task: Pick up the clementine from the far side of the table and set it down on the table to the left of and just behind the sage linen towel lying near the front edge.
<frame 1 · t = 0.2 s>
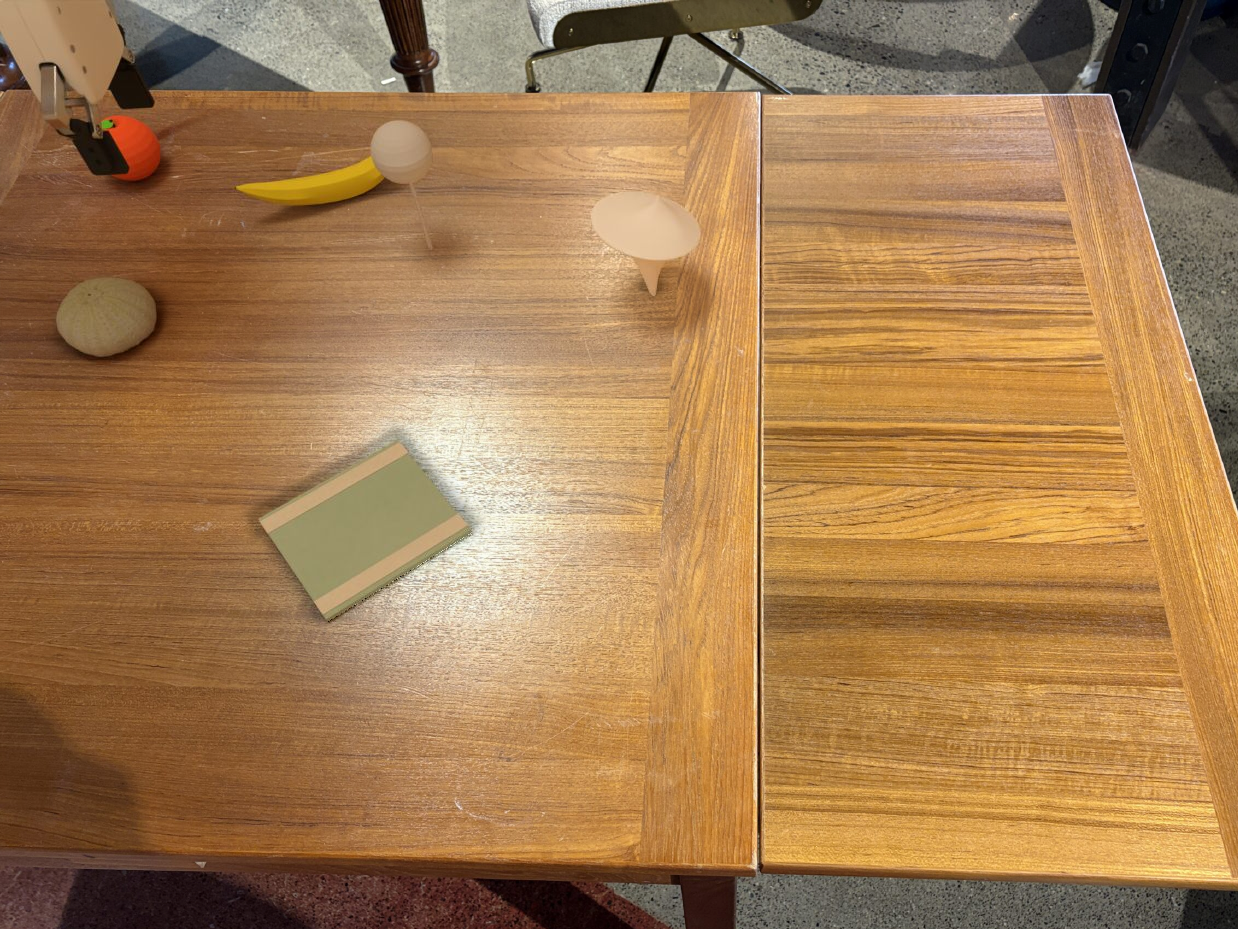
hand: (125, 139, 92), 17 cm above the table, tool pointing down, fingers open, 9 cm apart
lollipop: (431, 250, 109), on the table
banana: (337, 201, 114), on the table
clementine: (137, 177, 117), on the table
sea urchin shell: (118, 331, 103), on the table
mushroom: (651, 296, 105), on the table
towel: (365, 527, 89), on the table
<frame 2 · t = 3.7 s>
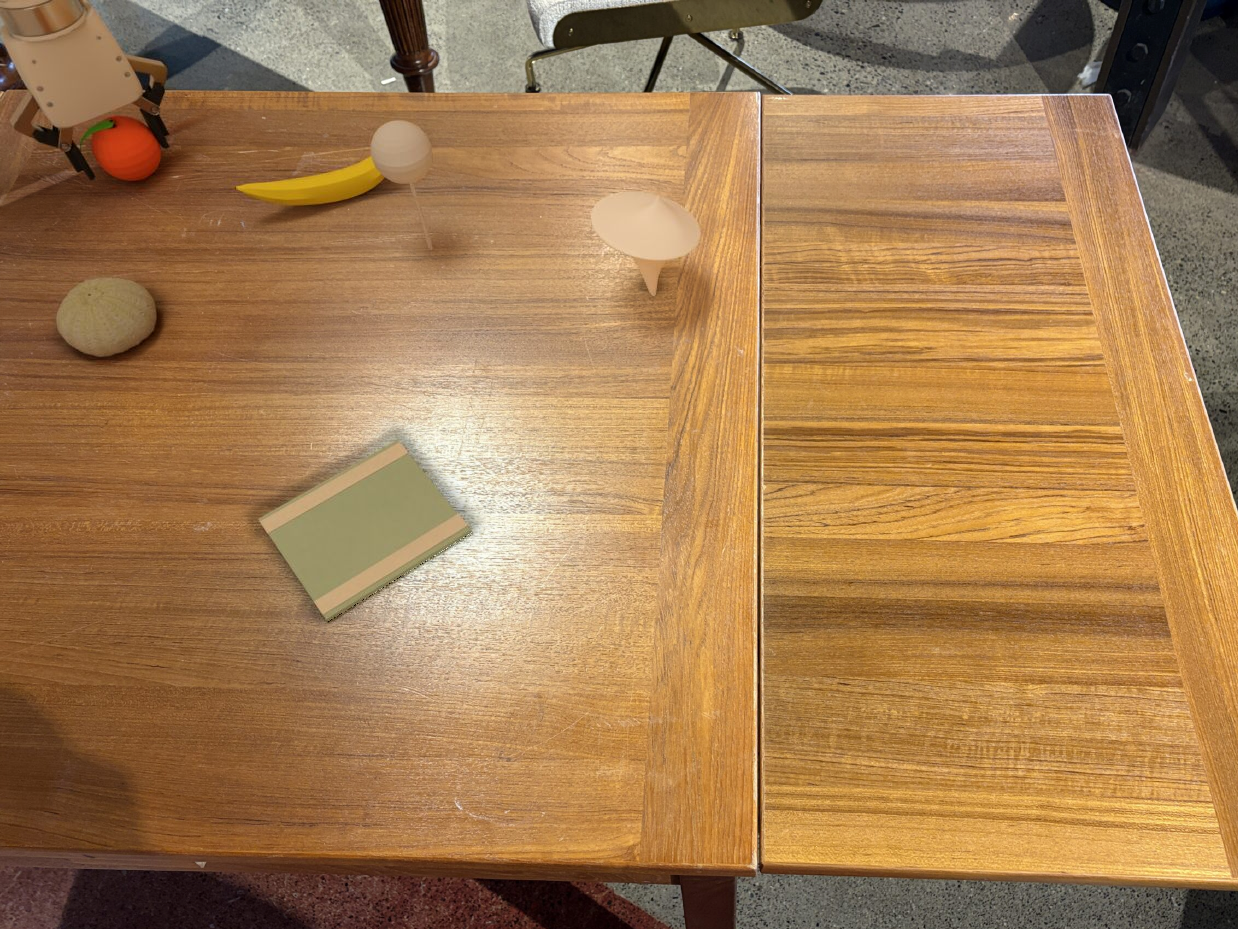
hand: (126, 157, 115), 2 cm above the table, tool pointing down, fingers closed on clementine, 8 cm apart
clementine: (137, 177, 117), on the table, touching gripper
everything else where it was.
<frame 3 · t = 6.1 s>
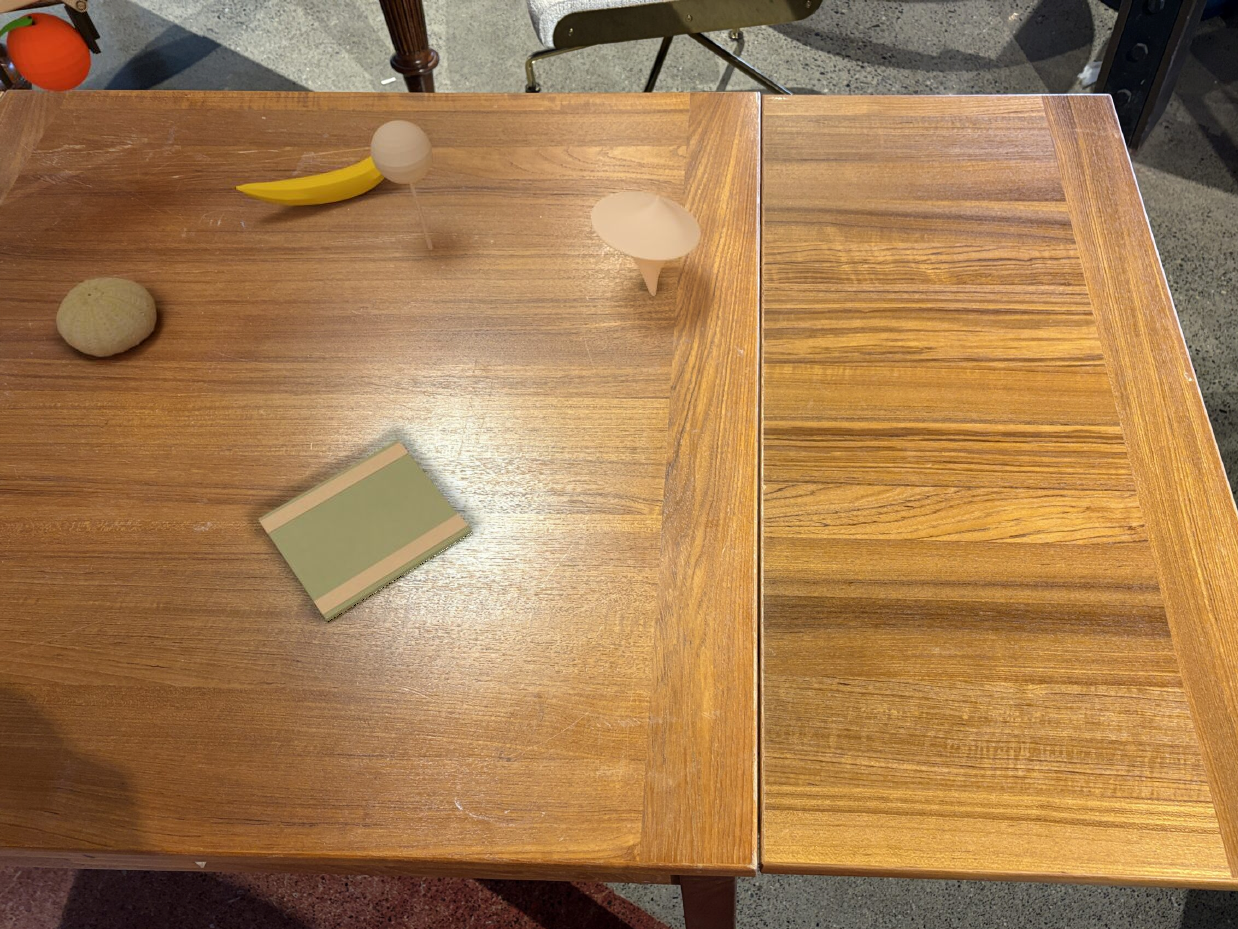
hand: (49, 64, 99), 18 cm above the table, tool pointing down, fingers closed on clementine, 8 cm apart
clementine: (64, 89, 101), point 15 cm above the table, touching gripper
everything else where it was.
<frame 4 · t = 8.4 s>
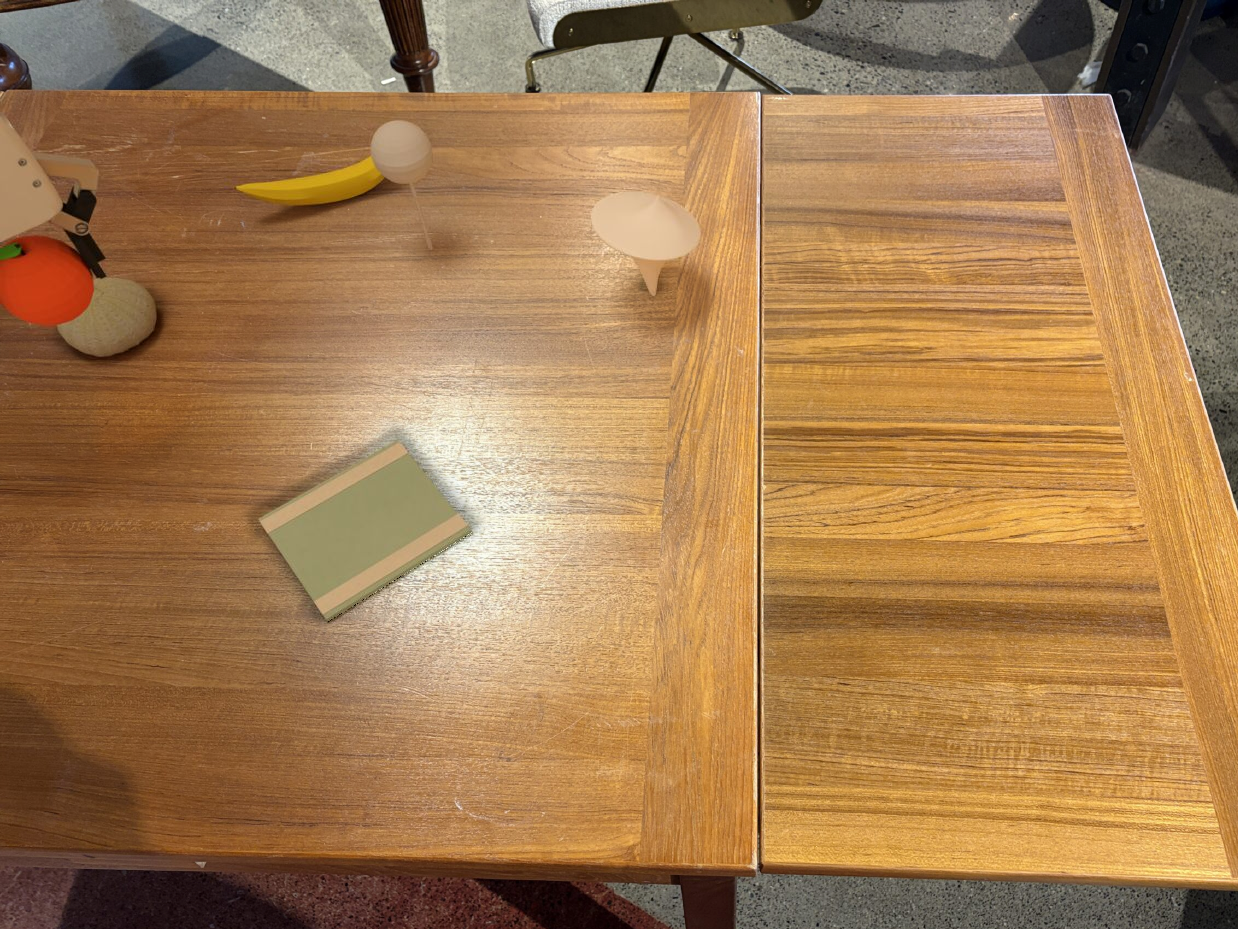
hand: (43, 293, 80), 18 cm above the table, tool pointing down, fingers closed on clementine, 8 cm apart
clementine: (61, 317, 82), point 15 cm above the table, touching gripper
everything else where it was.
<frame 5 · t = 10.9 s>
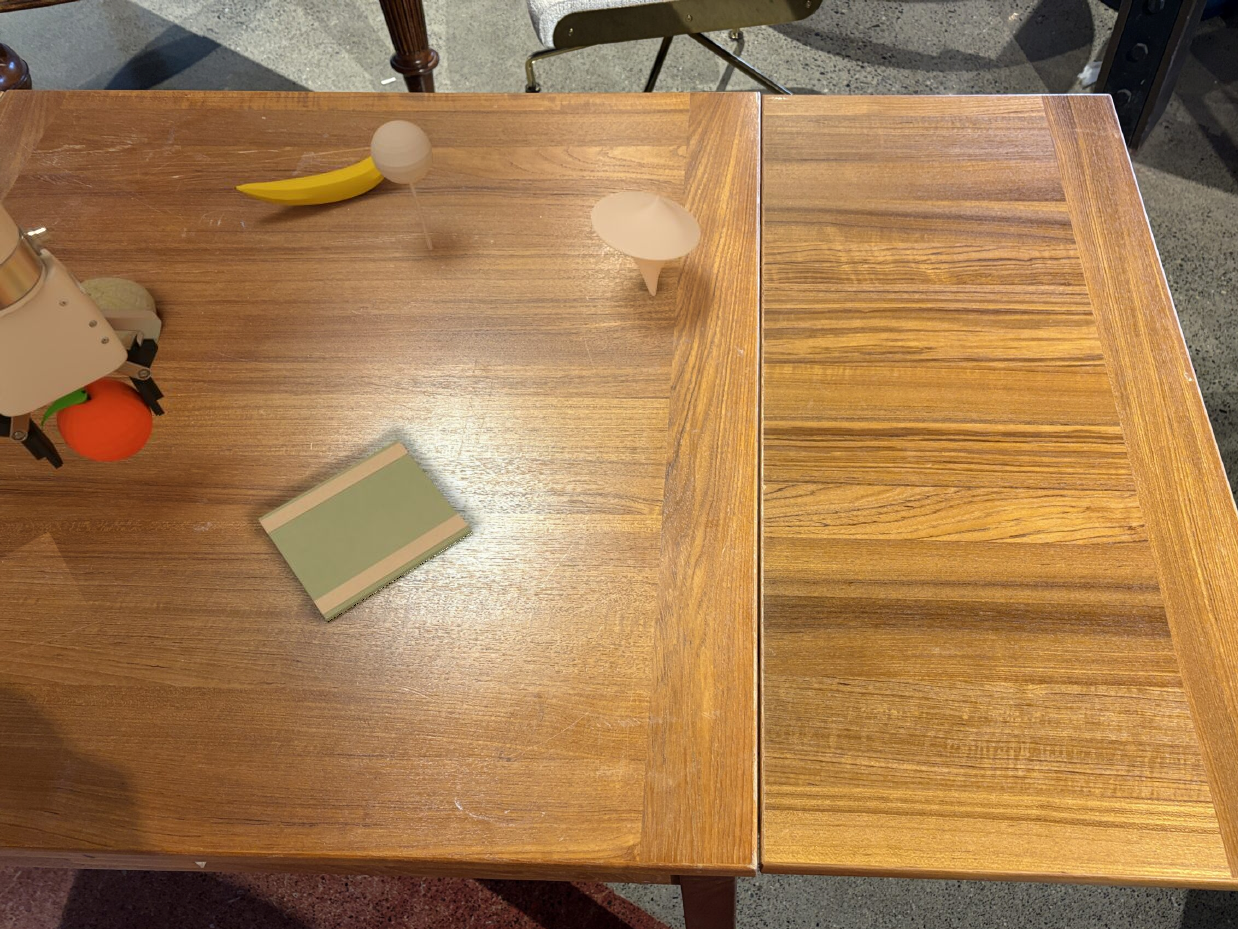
hand: (105, 430, 84), 9 cm above the table, tool pointing down, fingers closed on clementine, 8 cm apart
clementine: (121, 449, 87), point 6 cm above the table, touching gripper
everything else where it was.
when the fingers open (2 cm above the table, at t = 13.1 s): clementine stays where it is, on the table.
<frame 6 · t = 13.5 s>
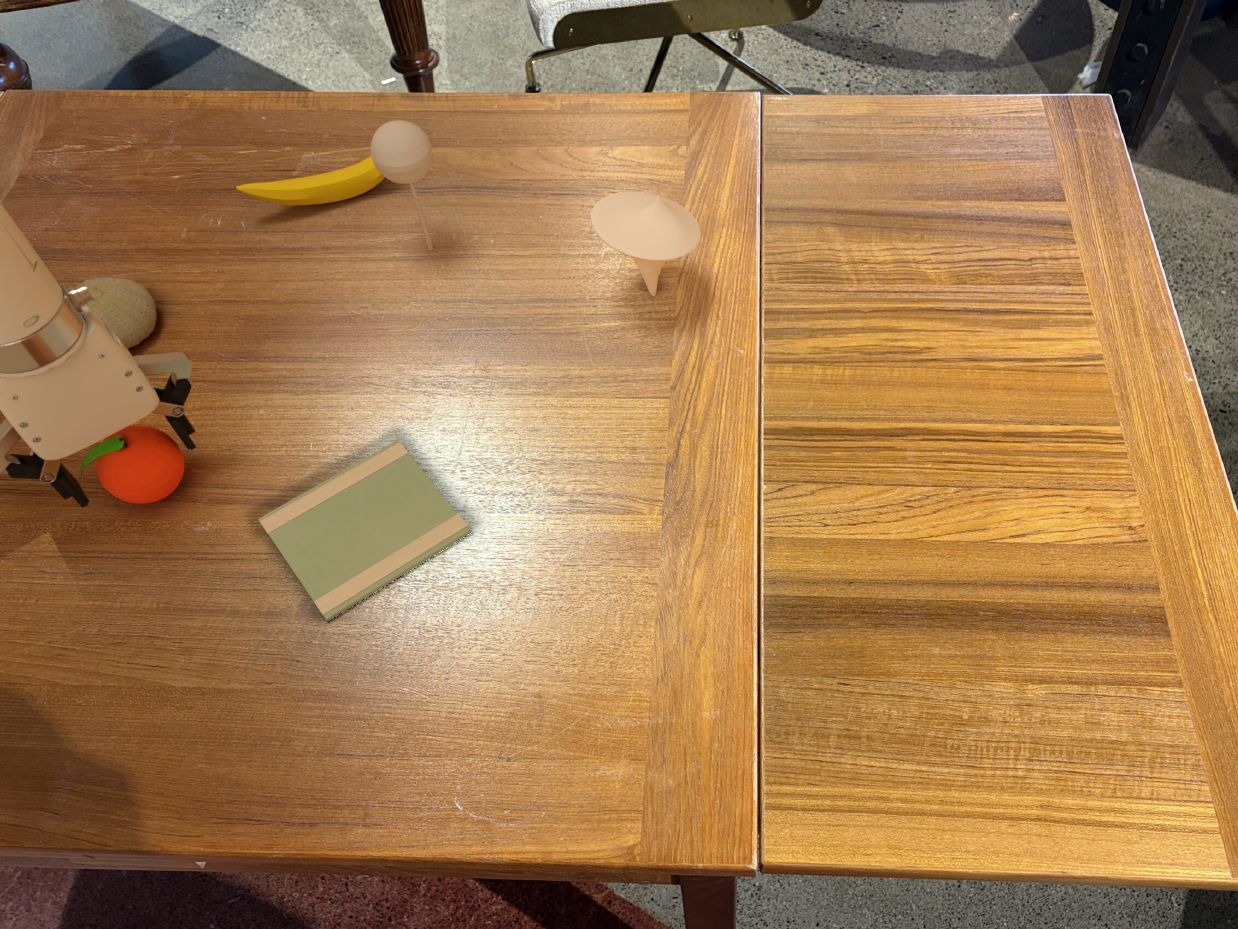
hand: (134, 467, 89), 3 cm above the table, tool pointing down, fingers open, 9 cm apart
clementine: (153, 491, 92), on the table
everything else where it was.
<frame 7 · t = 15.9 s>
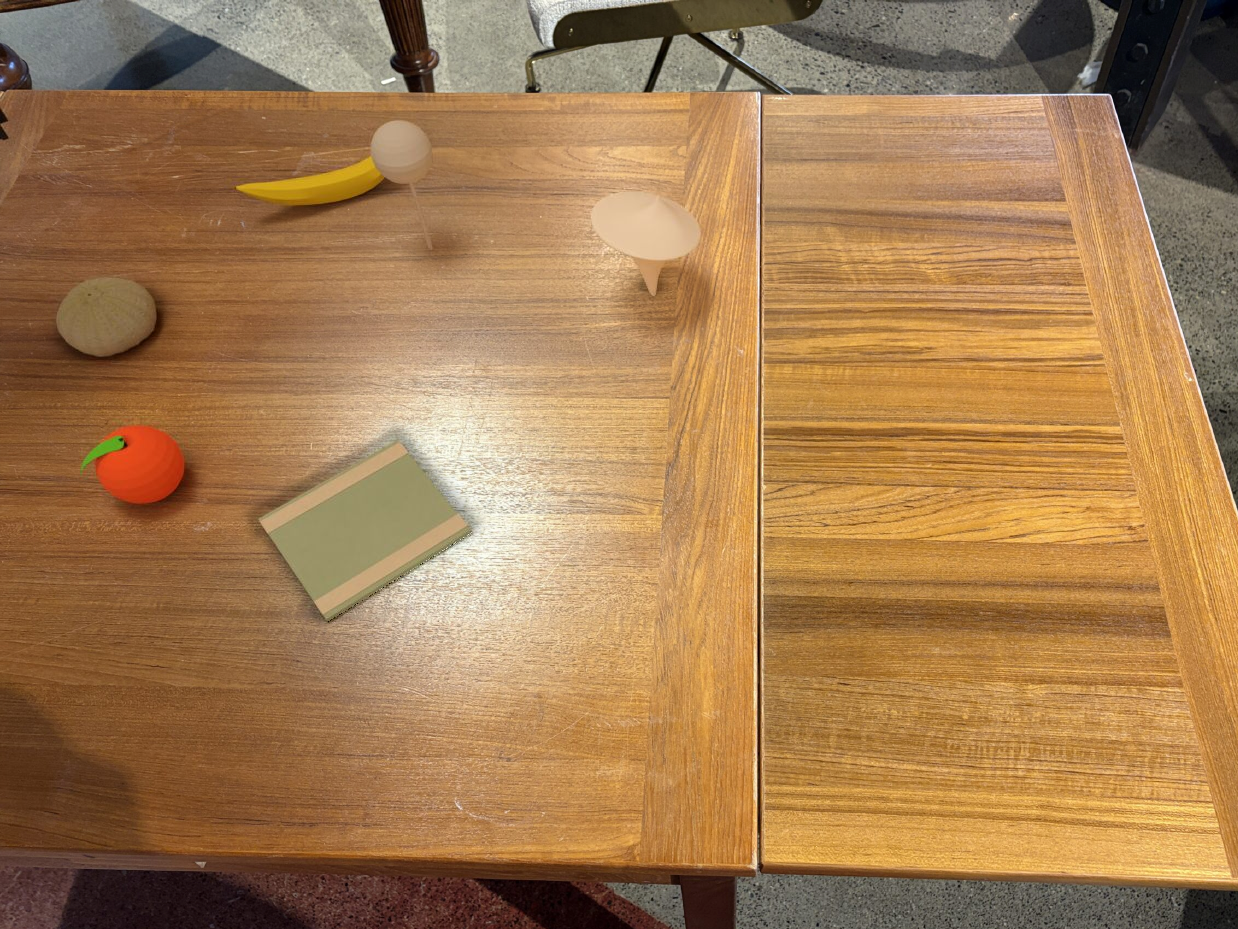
nothing on the table moved.
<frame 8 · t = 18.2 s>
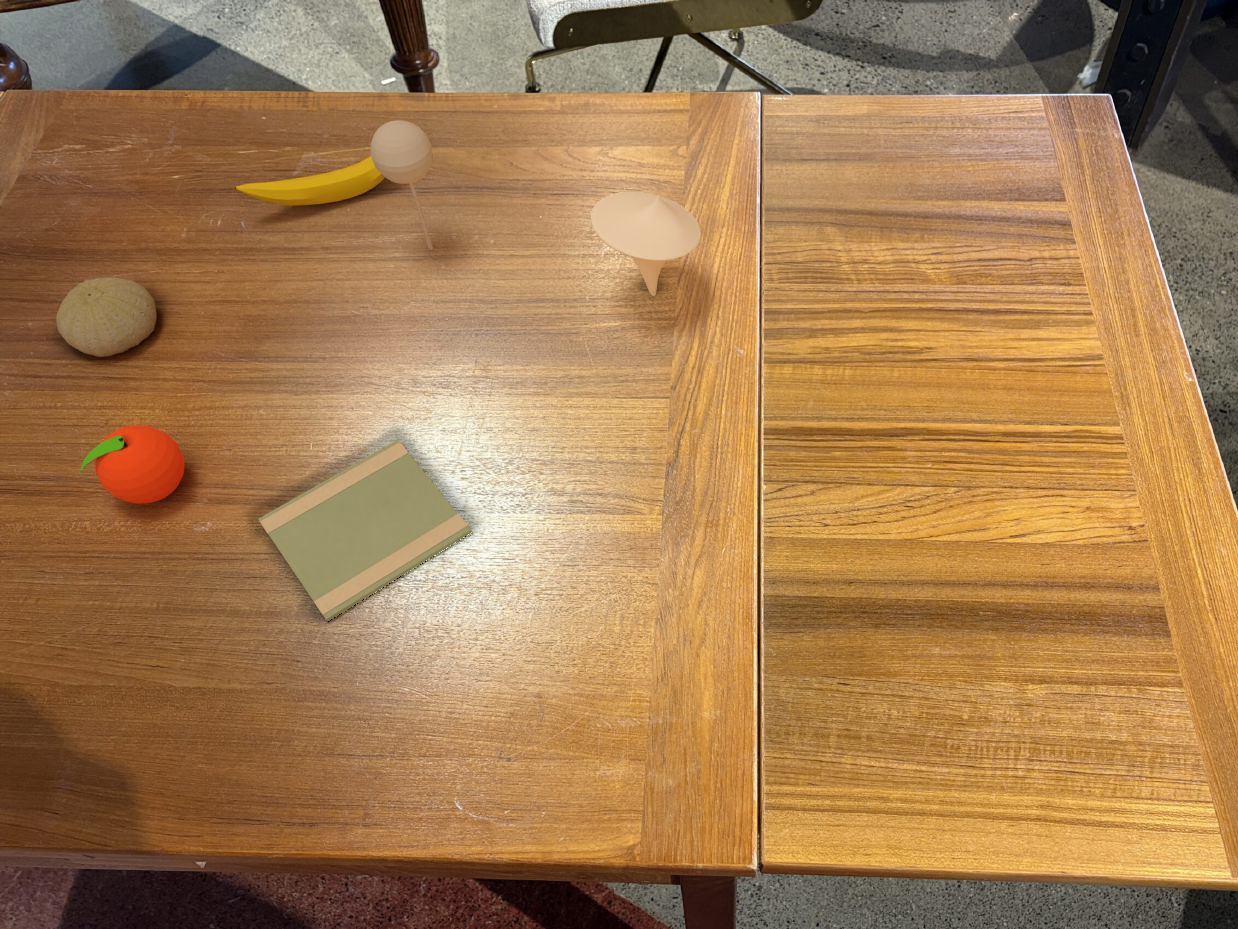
nothing on the table moved.
at the end: clementine inside the target area on the table beside the towel (2.6 cm from its centre), on the table; clementine touching table; the gripper is holding nothing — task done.
